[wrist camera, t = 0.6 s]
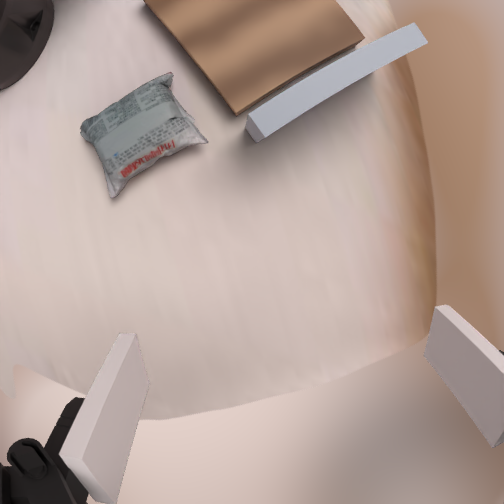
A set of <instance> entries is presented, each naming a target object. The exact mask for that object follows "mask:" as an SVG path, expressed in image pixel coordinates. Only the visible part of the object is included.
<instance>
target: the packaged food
mask: <svg viewBox="0 0 504 504" xmlns="http://www.w3.org/2000/svg"><path fill="white" fill-rule="evenodd" d="M173 76H174V75H173V73H171V72H170V73H167V74H164V75H161V76H159V77H157V78H155V79H153V80H151V81H149V82H147V83H145V84H144V85H142V86H140V87H139V88H137V89H136V90H134V91H133V92H131V93H130V94H128V95H126V96H125V97H123V98H122V99H121V100H119V101H118V102H115V103H113V104H112V105H110V106H109V107H108V108H106V109H105V110H103V111H102V112H101V113H99V114H98V115H96V116H93V117H91V118H89V119H86V120H85V121H84V122H83V123H82V126H81V128H80V129H81V132H80V134H81V136H82V137H83V138H84V139H85V140H86V141H89V142H90V143H92V144H93V146H94V147H95V149H96V152H97V154H98V156H99V158H100V160H101V162H102V164H103V169H104V172H105V176H106V181H107V187H108V190H109V196H110V197H111V198H114V197H116V196H118V194H119V193H120V191H121V190H122V188H123V187H124V186H125V185H126V183H127V181H128V180H129V179H130V178H132V177H134V176H135V175H137V174H139V173H140V172H142V171H144V170H146V169H147V168H149V167H150V166H152V165H153V164H154V163H155V162H156V161H157V160H158V159H159V158H161V157H162V156H164V155H166V156H170V155H172V154H174V153H176V152H178V151H180V150H182V149H184V148H186V147H188V146H192V145H197V144H205V143H208V141H207V139H206V138H205V137H204V136H203V135H202V134H201V133H200V132H199V130H198V129H197V128H196V127H195V126H194V124H193V123H194V121H195V119H194V118H193V117H192V116H191V115H189V114H187V112H186V111H185V110H184V109H183V108H182V106H181V105H180V104H179V102H178V101H177V100H176V98H175V97H174V96H173V94H172V92H171V91H170V90H169V87H170V86H171V83H172V81H171V80H172V77H173Z"/></svg>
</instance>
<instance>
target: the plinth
mask: <svg viewBox="0 0 504 504" xmlns="http://www.w3.org/2000/svg"><path fill="white" fill-rule="evenodd" d="M144 2H145V3H146V5H147V6H148V7H149V8H150V9H151V10H152V12H153V13H154V14H155V15H156V16H157V17H158V18H159V20H160V21H161V22H162V23H163V24H164V26H165V27H166V28H167V29H168V30H169V31H170V33H171V34H172V35H173V36H174V37H175V39H176V40H177V41H178V42H179V43H180V45H181V46H182V47H183V48H184V50H185V51H186V52H187V53H188V54H189V56H190V57H191V58H192V59H193V61H194V62H195V63H196V64H197V66H198V67H199V68H200V69H201V71H202V72H203V73H204V74H205V76H206V77H207V78H208V80H209V81H210V82H211V83H212V85H213V86H214V87H215V89H216V90H217V91H218V92H219V94H220V95H221V96H222V98H223V99H224V100H225V102H226V103H227V104H228V106H229V107H230V108H231V110H232V111H233V112H234V114H235V115H236V116H238V115H239V114H241V113H242V112H244V111H245V110H247V109H248V108H250V107H251V106H253V105H254V104H256V103H258V102H259V101H261V100H262V99H264V98H265V97H267V96H268V95H270V94H272V93H273V92H275V91H276V90H278V89H280V88H281V87H283V86H285V85H286V84H288V83H290V82H291V81H293V80H295V79H296V78H298V77H300V76H301V75H303V74H305V73H306V72H308V71H310V70H312V69H313V68H315V67H317V66H319V65H320V64H322V63H324V62H326V61H328V60H330V59H331V58H333V57H335V56H337V55H339V54H341V53H343V52H344V51H346V50H348V49H350V48H352V47H354V46H356V45H357V44H358V43H360V42H361V41H362V40H363V39H364V38H365V37H364V36H363V34H362V33H361V32H360V30H359V29H358V28H357V26H356V25H355V24H354V23H353V21H352V20H351V19H350V17H349V16H348V15H347V14H346V13H345V11H344V10H343V9H342V8H341V6H340V5H339V4H338V3H337V2H336V1H335V0H144Z"/></svg>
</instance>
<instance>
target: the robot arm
mask: <svg viewBox="0 0 504 504" xmlns="http://www.w3.org/2000/svg"><path fill="white" fill-rule="evenodd" d="M53 20H54V7H53V3H52V1H51V0H0V90H1V89H4V88H7V87H9V86H10V85H12V84H14V83H15V82H16V81H18V80H19V79H20V78H21V77H22V76H23V75H24V74H25V73H26V72H27V71H28V70H29V69H30V68H31V66H32V65H33V64H34V63H35V61H36V60H37V58H38V57H39V55H40V54H41V52H42V50H43V48H44V47H45V45H46V42H47V40H48V38H49V35H50V32H51V29H52V25H53ZM424 357H425V358H426V359H427V360H428V362H429V363H430V364H431V365H432V367H433V368H434V369H435V371H436V372H437V373H438V374H439V376H440V377H441V378H442V379H443V381H444V382H445V384H446V385H447V386H448V387H449V389H450V390H451V391H452V393H453V394H454V395H455V397H456V398H457V399H458V401H459V402H460V403H461V405H462V406H463V407H464V409H465V410H466V411H467V413H468V414H469V416H470V417H471V418H472V420H473V421H474V422H475V424H476V425H477V427H478V428H479V430H480V431H481V432H482V434H483V435H484V437H485V438H486V440H487V441H488V442H489V444H490V445H491V447H492V448H494V447H496V446H498V445H500V444H501V443H503V442H504V352H502V351H501V350H499V351H498V350H497V349H496V348H495V347H494V346H493V345H492V344H491V343H490V342H489V341H488V340H487V339H486V338H484V337H483V336H482V335H481V334H480V333H479V332H478V331H477V330H476V329H475V328H473V327H472V326H471V325H470V324H469V323H468V322H467V321H466V320H464V319H463V318H462V317H461V316H460V315H459V314H458V313H457V312H455V311H454V310H453V309H452V308H451V307H450V306H448V305H443V306H437V307H435V309H434V314H433V319H432V323H431V328H430V332H429V337H428V340H427V345H426V348H425V352H424ZM149 385H150V381H149V378H148V375H147V371H146V368H145V364H144V361H143V357H142V353H141V350H140V346H139V342H138V338H137V334H136V333H119V335H118V337H117V339H116V341H115V342H114V344H113V346H112V348H111V350H110V352H109V353H108V355H107V357H106V359H105V361H104V363H103V365H102V367H101V369H100V370H99V372H98V374H97V376H96V378H95V380H94V382H93V384H92V386H91V388H90V390H89V392H88V394H87V396H86V398H78V397H75V398H74V399H73V400H71V401H70V402H69V403H68V404H67V405H66V406H65V408H64V410H63V412H62V414H61V417H60V418H59V419H58V421H57V423H56V426H55V427H54V429H53V431H52V433H51V435H50V437H49V439H48V441H47V443H46V445H45V447H44V448H43V447H42V445H41V444H40V442H38V441H37V440H35V439H31V438H25V439H21V440H18V441H17V442H15V443H14V444H13V445H12V446H11V447H10V448H9V451H8V453H7V460H8V462H9V463H10V464H11V465H12V466H10V467H9V466H3V465H2V464H1V463H0V504H87V502H86V500H87V497H88V494H90V496H91V497H92V498H93V499H94V500H95V501H97V502H101V503H106V504H117V499H118V495H119V491H120V487H121V483H122V480H123V476H124V472H125V468H126V464H127V461H128V457H129V453H130V450H131V446H132V443H133V439H134V435H135V432H136V429H137V425H138V421H139V418H140V415H141V411H142V408H143V405H144V401H145V398H146V395H147V392H148V388H149Z"/></svg>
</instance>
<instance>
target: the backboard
mask: <svg viewBox="0 0 504 504" xmlns="http://www.w3.org/2000/svg"><path fill="white" fill-rule="evenodd" d="M427 43H428V42H427V40H426V39H425V37H424V36H423V34H422V33H421V31H420V30H419V28H418V27H417V25H416V24H415V23H412V24H410V25H407V26H406V27H403V28H401V29H398V30H396V31H394V32H392V33H390V34H388V35H386V36H384V37H381V38H379V39H377V40H375V41H373V42H371V43H369V44H367V45H365V46H363V47H361V48H359V49H357V50H355V51H354V52H352V53H350V54H348V55H346V56H344V57H342V58H340V59H338V60H337V61H335V62H333V63H331V64H329V65H328V66H326V67H324V68H322V69H320V70H319V71H317V72H315V73H313V74H312V75H310V76H308V77H307V78H305V79H303V80H301V81H300V82H298V83H296V84H295V85H293V86H291V87H290V88H288V89H287V90H285V91H283V92H282V93H280V94H278V95H277V96H275V97H274V98H272V99H271V100H269V101H267V102H266V103H264V104H263V105H261V106H260V107H258V108H257V109H255V110H254V111H252V112H251V113H249V114H248V117H247V121H246V126H245V128H246V130H247V131H248V133H249V134H250V135H251V137H252V138H253V139H254V141H255V142H256V143H257V142H259V141H261V140H262V139H264V138H266V137H267V136H269V135H270V134H272V133H273V132H275V131H276V130H278V129H279V128H281V127H282V126H284V125H285V124H287V123H288V122H290V121H292V120H293V119H295V118H296V117H298V116H299V115H301V114H303V113H304V112H306V111H307V110H309V109H311V108H312V107H314V106H315V105H317V104H319V103H320V102H322V101H324V100H325V99H327V98H329V97H330V96H332V95H334V94H335V93H337V92H339V91H340V90H342V89H344V88H345V87H347V86H349V85H350V84H352V83H354V82H356V81H357V80H359V79H361V78H363V77H364V76H366V75H368V74H370V73H372V72H373V71H375V70H377V69H379V68H381V67H383V66H384V65H386V64H388V63H390V62H392V61H394V60H396V59H397V58H399V57H401V56H403V55H405V54H407V53H409V52H411V51H413V50H415V49H416V48H419V47H421V46H423V45H425V44H427Z"/></svg>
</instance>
